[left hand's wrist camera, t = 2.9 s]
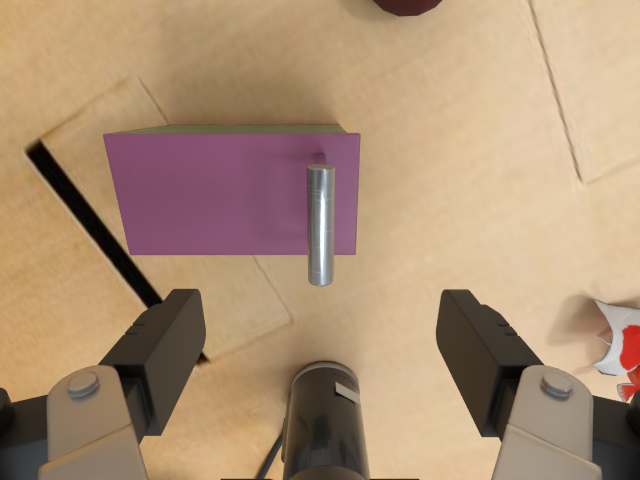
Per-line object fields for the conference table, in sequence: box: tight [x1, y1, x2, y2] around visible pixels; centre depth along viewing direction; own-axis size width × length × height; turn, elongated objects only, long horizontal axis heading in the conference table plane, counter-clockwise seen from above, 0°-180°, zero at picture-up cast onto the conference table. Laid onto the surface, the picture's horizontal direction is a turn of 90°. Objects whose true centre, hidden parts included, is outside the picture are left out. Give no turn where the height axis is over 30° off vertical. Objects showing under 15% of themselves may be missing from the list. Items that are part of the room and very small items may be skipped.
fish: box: [593, 300, 640, 403], centre depth 41 cm, size 11×16×10 cm
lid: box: [103, 133, 360, 286], centre depth 22 cm, size 18×9×8 cm, turn 90°
